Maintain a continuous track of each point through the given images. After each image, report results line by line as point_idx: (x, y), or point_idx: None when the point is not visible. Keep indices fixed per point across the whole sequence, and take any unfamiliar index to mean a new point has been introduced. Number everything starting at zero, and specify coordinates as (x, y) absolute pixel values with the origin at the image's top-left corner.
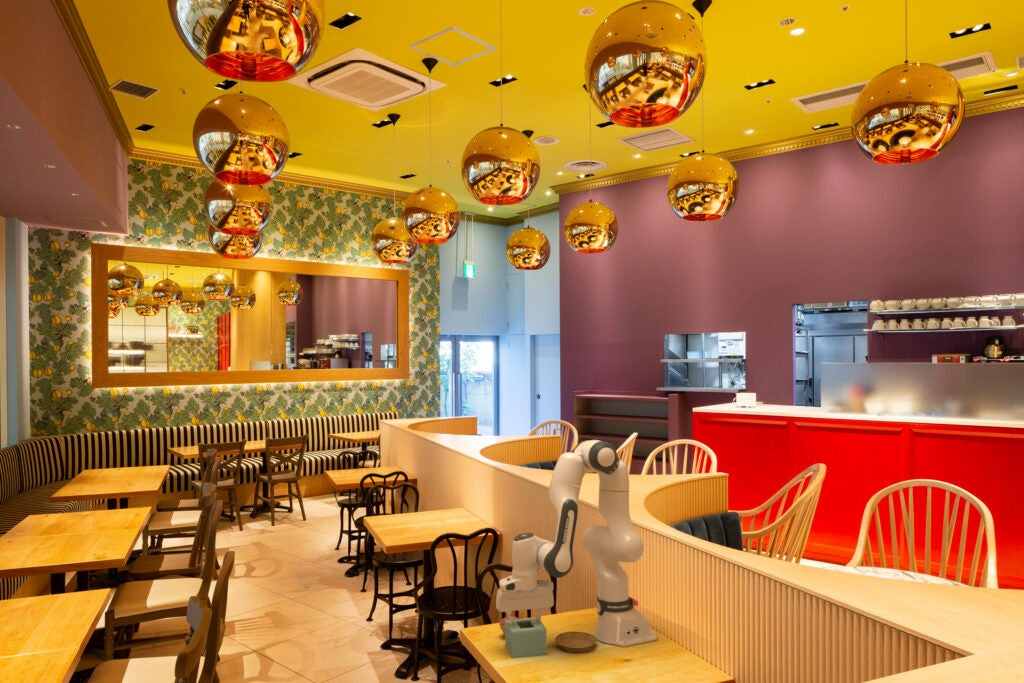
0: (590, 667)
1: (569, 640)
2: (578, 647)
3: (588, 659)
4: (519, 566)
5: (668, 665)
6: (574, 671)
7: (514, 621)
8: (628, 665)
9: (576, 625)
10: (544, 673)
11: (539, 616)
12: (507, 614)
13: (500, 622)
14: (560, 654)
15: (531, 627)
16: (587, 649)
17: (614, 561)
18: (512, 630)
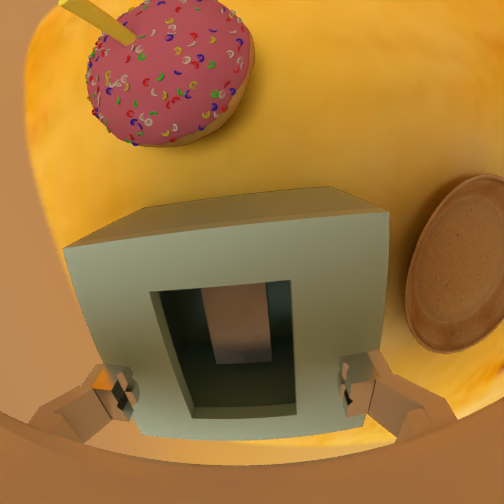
0: None
1: (465, 204)
2: (466, 283)
3: (442, 372)
4: None
5: None
6: (366, 434)
7: (133, 396)
8: (487, 392)
9: (498, 54)
10: (278, 442)
11: (369, 411)
12: (109, 35)
13: (87, 73)
14: (385, 337)
15: (270, 416)
16: (475, 321)
17: None
18: (141, 425)
